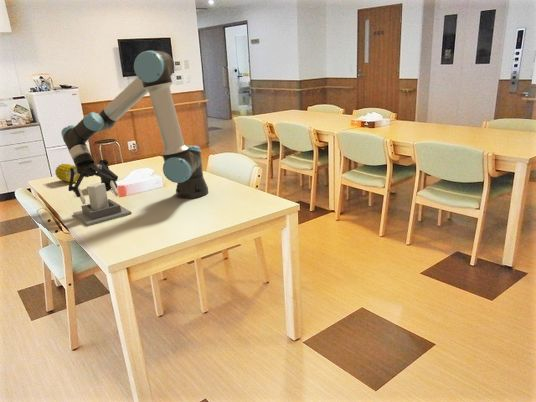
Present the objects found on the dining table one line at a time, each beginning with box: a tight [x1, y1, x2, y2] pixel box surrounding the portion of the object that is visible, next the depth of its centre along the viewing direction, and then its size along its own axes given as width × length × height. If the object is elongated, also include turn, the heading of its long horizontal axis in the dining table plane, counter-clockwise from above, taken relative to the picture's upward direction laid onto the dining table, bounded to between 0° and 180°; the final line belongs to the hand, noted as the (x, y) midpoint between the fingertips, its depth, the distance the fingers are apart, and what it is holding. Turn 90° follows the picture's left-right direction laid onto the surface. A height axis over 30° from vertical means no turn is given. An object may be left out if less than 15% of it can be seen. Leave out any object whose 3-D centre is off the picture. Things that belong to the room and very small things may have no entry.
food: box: [54, 163, 80, 183], centre depth 227 cm, size 15×12×10 cm
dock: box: [72, 199, 132, 227], centre depth 174 cm, size 18×18×4 cm
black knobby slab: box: [97, 158, 111, 191], centre depth 212 cm, size 4×13×15 cm, turn 33°
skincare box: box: [86, 182, 109, 211], centre depth 173 cm, size 6×4×12 cm
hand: (101, 198), depth 171 cm, fingers open, 13 cm apart
